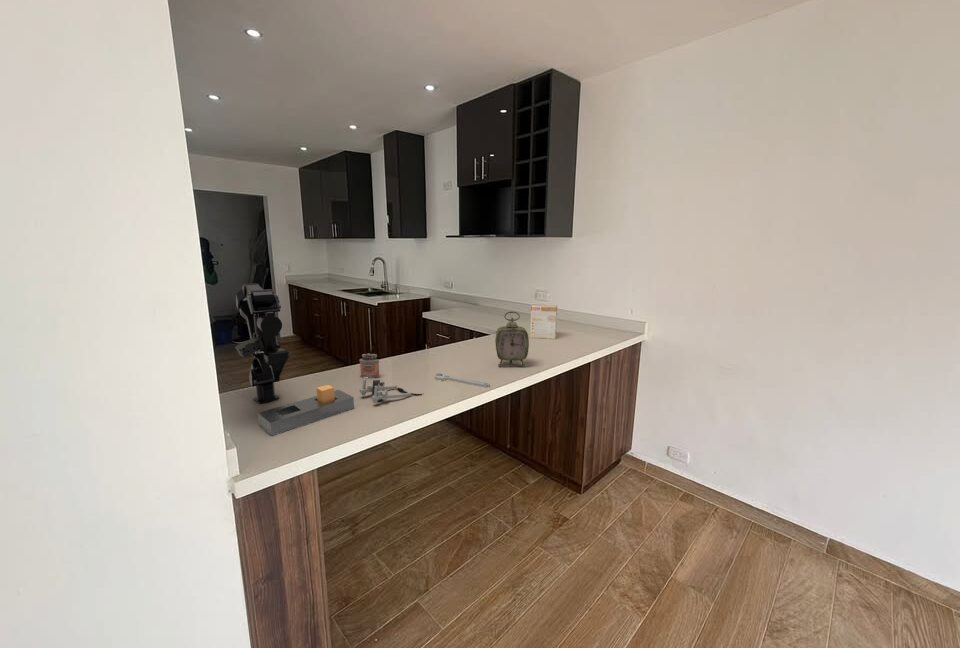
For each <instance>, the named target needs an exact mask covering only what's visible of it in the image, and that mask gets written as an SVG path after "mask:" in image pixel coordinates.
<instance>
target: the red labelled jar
mask: <svg viewBox="0 0 960 648" xmlns="http://www.w3.org/2000/svg"><path fill="white" fill-rule="evenodd" d="M377 357H378V355H377V353H376V354H375V353H366V354H365V353H363V354H361V358H360V359H359V364H360V365H359V368H360V378H361V377H368V378H367V379H379V378H380V377H381V376H380V365H379V362H380V360H379V359H377ZM378 377H379V378H378Z"/></svg>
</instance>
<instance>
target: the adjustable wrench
mask: <svg viewBox="0 0 960 648" xmlns="http://www.w3.org/2000/svg"><path fill="white" fill-rule="evenodd" d="M434 380H436V381H439V380H441V381H440V382H444V380H445V382H446V380H450V382H455V381H456V383H461V384H466V385H473V386H475V387H476V386H477V387H481V388H490V383H489V382H485V381H481V380H475V379H469V378H463V377H458V376H453V375H451V374H449V373H447V372H436V374H435V375H434Z"/></svg>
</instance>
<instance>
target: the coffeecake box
mask: <svg viewBox="0 0 960 648" xmlns="http://www.w3.org/2000/svg"><path fill="white" fill-rule="evenodd" d="M557 324H558V304H538V303H537V304H535V303H533V304H531V305H530V329H529V330H530V332H529V333H530V334H529V337H530V339H545V338H546V339H547V340H556V338H557V330H558V329H557V326H558V325H557Z"/></svg>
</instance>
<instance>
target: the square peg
mask: <svg viewBox="0 0 960 648" xmlns="http://www.w3.org/2000/svg"><path fill="white" fill-rule="evenodd" d="M334 391H335V387H333V386H332V385H329V384H326V385H322V386H319V387H316V396H317V401H318V402H320V403H321V404H323V403H327V402H330V401H333V400H335V395H334Z"/></svg>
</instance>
